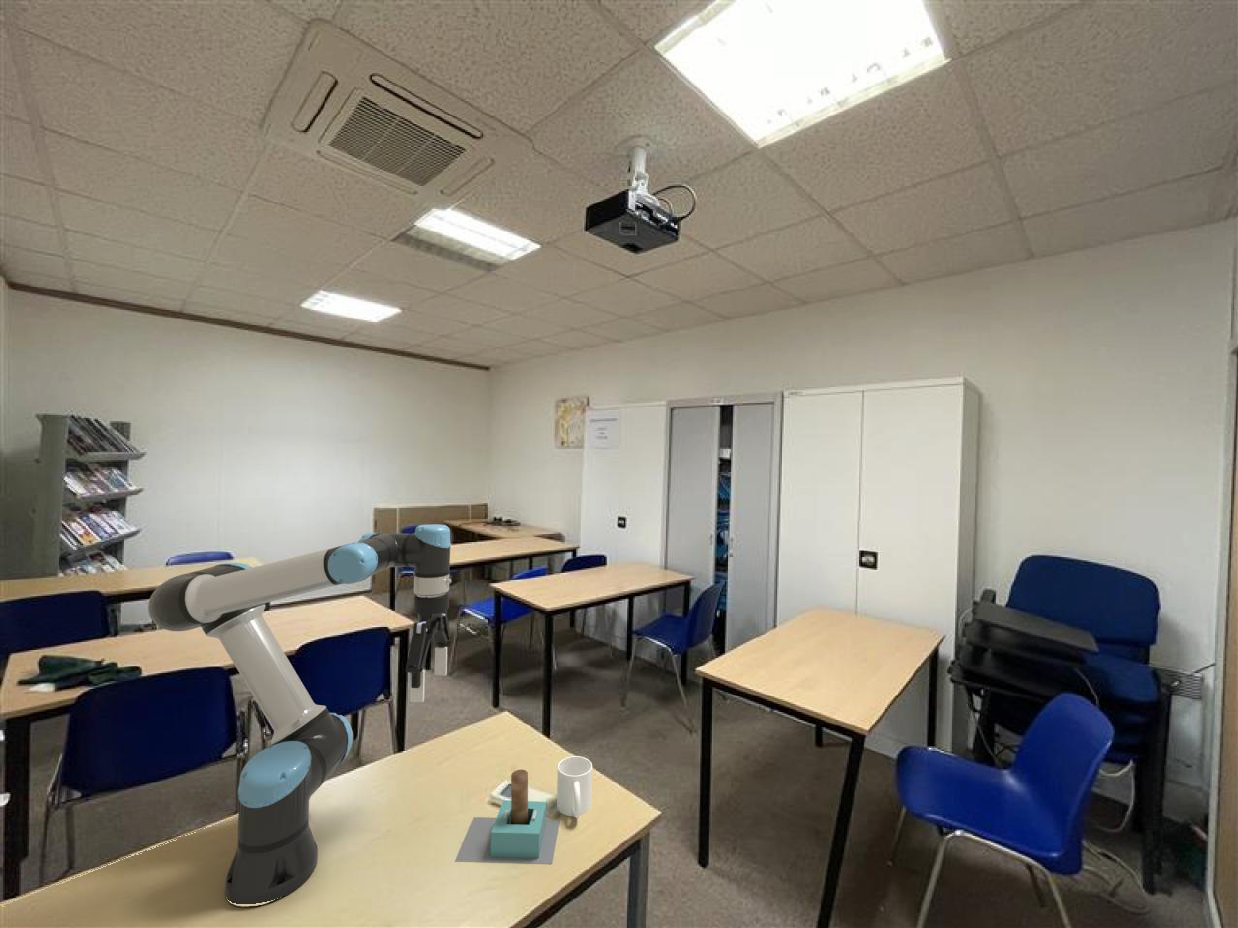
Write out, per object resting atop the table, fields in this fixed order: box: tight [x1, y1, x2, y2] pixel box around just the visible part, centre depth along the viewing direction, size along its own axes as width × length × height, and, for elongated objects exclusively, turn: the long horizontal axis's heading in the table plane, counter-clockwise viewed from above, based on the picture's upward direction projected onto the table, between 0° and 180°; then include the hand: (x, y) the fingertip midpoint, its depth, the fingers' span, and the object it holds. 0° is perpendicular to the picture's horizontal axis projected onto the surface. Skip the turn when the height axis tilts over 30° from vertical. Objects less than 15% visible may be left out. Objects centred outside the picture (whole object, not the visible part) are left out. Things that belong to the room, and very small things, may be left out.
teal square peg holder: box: [491, 799, 548, 858], centre depth 109 cm, size 10×10×6 cm
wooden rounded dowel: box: [510, 769, 529, 825], centre depth 109 cm, size 4×4×14 cm
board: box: [454, 816, 561, 865], centre depth 109 cm, size 20×13×1 cm, turn 89°
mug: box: [556, 755, 593, 819], centre depth 119 cm, size 12×8×10 cm
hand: (429, 687), depth 113 cm, fingers open, 13 cm apart
